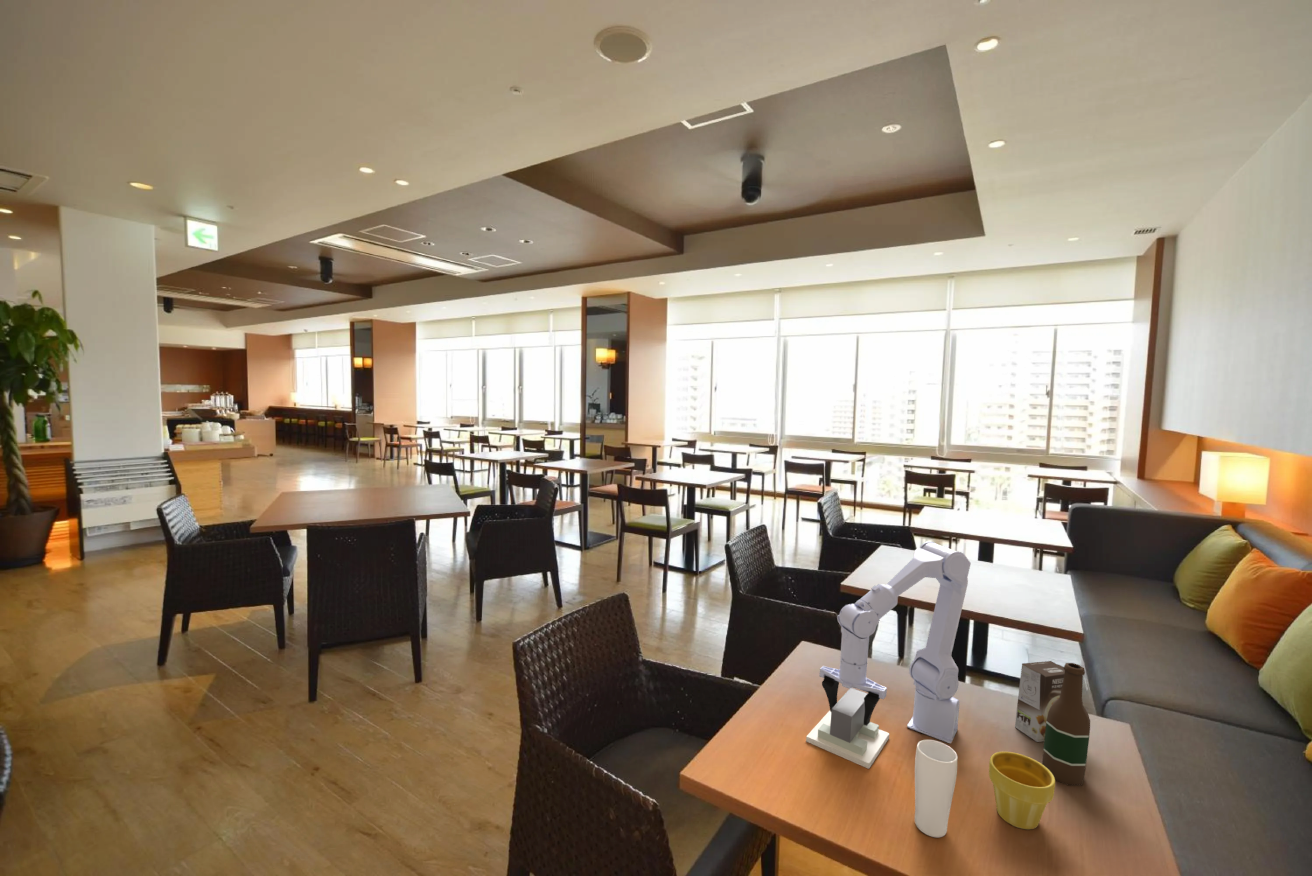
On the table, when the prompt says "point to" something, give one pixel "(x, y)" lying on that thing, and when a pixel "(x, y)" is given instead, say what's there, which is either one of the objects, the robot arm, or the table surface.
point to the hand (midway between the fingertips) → (849, 716)
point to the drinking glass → (934, 786)
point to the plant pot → (1020, 788)
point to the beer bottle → (1068, 730)
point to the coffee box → (1037, 696)
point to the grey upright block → (848, 715)
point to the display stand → (858, 749)
